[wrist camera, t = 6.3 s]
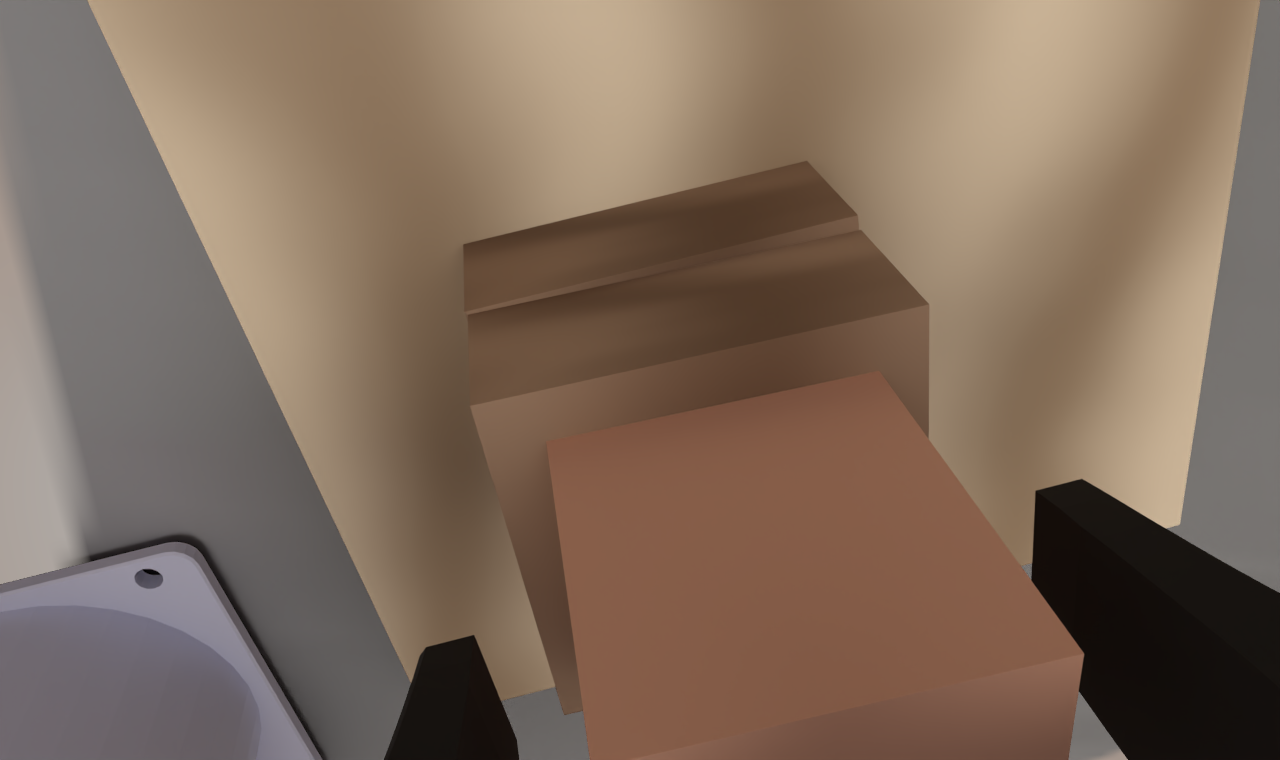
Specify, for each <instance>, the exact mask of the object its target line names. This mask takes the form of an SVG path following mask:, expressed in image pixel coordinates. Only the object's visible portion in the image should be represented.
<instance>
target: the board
mask: <svg viewBox="0 0 1280 760" xmlns="http://www.w3.org/2000/svg"><path fill="white" fill-rule="evenodd" d="M87 1H88V3H89V5H90V7H91V9H92V11H93V13H94V15H95V18H96V20H97V22H98V24H99V26H100V28H101V30H102V32H103V34H104V37H105V39H106V41H107V43H108V45H109V47H110V49H111V51H112V53H113V56H114V58H115V60H116V62H117V64H118V66H119V68H120V70H121V72H122V75H123V77H124V79H125V81H126V83H127V85H128V87H129V89H130V91H131V94H132V96H133V98H134V100H135V102H136V104H137V106H138V108H139V110H140V113H141V115H142V117H143V119H144V121H145V123H146V125H147V127H148V129H149V132H150V134H151V136H152V138H153V140H154V142H155V144H156V146H157V148H158V151H159V153H160V155H161V157H162V159H163V161H164V163H165V165H166V167H167V170H168V172H169V174H170V176H171V178H172V180H173V182H174V184H175V186H176V189H177V191H178V193H179V195H180V197H181V199H182V201H183V203H184V205H185V208H186V210H187V212H188V214H189V216H190V218H191V220H192V222H193V224H194V227H195V229H196V231H197V233H198V235H199V237H200V239H201V241H202V243H203V245H204V248H205V250H206V252H207V254H208V256H209V258H210V260H211V262H212V264H213V267H214V269H215V271H216V273H217V275H218V277H219V279H220V281H221V283H222V286H223V288H224V290H225V292H226V294H227V296H228V298H229V300H230V302H231V305H232V307H233V309H234V311H235V313H236V315H237V317H238V319H239V321H240V324H241V326H242V328H243V330H244V332H245V334H246V336H247V338H248V340H249V343H250V345H251V347H252V349H253V351H254V353H255V355H256V357H257V359H258V362H259V364H260V366H261V368H262V370H263V372H264V374H265V376H266V378H267V381H268V383H269V385H270V387H271V389H272V391H273V393H274V395H275V397H276V400H277V402H278V404H279V406H280V408H281V410H282V412H283V414H284V416H285V419H286V421H287V423H288V425H289V427H290V429H291V431H292V433H293V435H294V438H295V440H296V442H297V444H298V446H299V448H300V450H301V452H302V454H303V457H304V459H305V461H306V463H307V465H308V467H309V469H310V471H311V473H312V476H313V478H314V480H315V482H316V484H317V486H318V488H319V490H320V492H321V495H322V497H323V499H324V501H325V503H326V505H327V507H328V509H329V511H330V514H331V516H332V518H333V520H334V522H335V524H336V526H337V528H338V530H339V533H340V535H341V537H342V539H343V541H344V543H345V545H346V547H347V549H348V552H349V554H350V556H351V558H352V560H353V562H354V564H355V566H356V568H357V571H358V573H359V575H360V577H361V579H362V581H363V583H364V585H365V587H366V590H367V592H368V594H369V596H370V598H371V600H372V602H373V604H374V606H375V609H376V611H377V613H378V615H379V617H380V619H381V621H382V623H383V625H384V628H385V630H386V632H387V634H388V636H389V638H390V640H391V642H392V644H393V647H394V649H395V651H396V653H397V655H398V657H399V659H400V661H401V663H402V666H403V668H404V670H405V672H406V674H407V676H408V678H409V680H410V682H412V679H413V676H414V673H415V670H416V666H417V663H418V660H419V656H420V655H421V653H422V652H423V651H424V649H425V648H426V647H428V646H432V645H436V644H440V643H444V642H448V641H452V640H456V639H460V638H463V637H467V636H471V635H475V638H476V640H477V643H478V645H479V648H480V650H481V653H482V655H483V658H484V660H485V663H486V665H487V668H488V670H489V673H490V675H491V677H492V680H493V682H494V685H495V687H496V690H497V692H498V695H499V697H500V700H501V701H502V700H506V699H510V698H514V697H518V696H522V695H526V694H529V693H533V692H537V691H541V690H545V689H549V688H552V687H555V683H554V680H553V677H552V674H551V670H550V667H549V664H548V660H547V657H546V654H545V651H544V647H543V644H542V641H541V638H540V634H539V631H538V628H537V624H536V621H535V618H534V615H533V611H532V608H531V605H530V601H529V598H528V595H527V592H526V588H525V585H524V582H523V579H522V575H521V572H520V569H519V565H518V562H517V559H516V556H515V552H514V549H513V546H512V542H511V539H510V536H509V533H508V529H507V526H506V523H505V520H504V516H503V513H502V510H501V506H500V503H499V500H498V497H497V493H496V490H495V487H494V483H493V480H492V477H491V474H490V470H489V467H488V464H487V461H486V457H485V454H484V451H483V447H482V444H481V441H480V438H479V434H478V431H477V428H476V424H475V421H474V418H473V415H472V411H471V408H470V388H469V345H468V321H467V318H466V315H465V312H464V257H463V244H466V243H470V242H475V241H479V240H483V239H487V238H491V237H495V236H499V235H503V234H507V233H512V232H516V231H520V230H524V229H528V228H532V227H536V226H540V225H545V224H549V223H553V222H557V221H561V220H565V219H569V218H573V217H577V216H582V215H586V214H590V213H594V212H598V211H602V210H606V209H610V208H615V207H619V206H623V205H627V204H631V203H635V202H639V201H643V200H647V199H652V198H656V197H660V196H664V195H668V194H672V193H676V192H680V191H685V190H689V189H693V188H697V187H701V186H705V185H709V184H713V183H717V182H722V181H726V180H730V179H734V178H738V177H742V176H746V175H750V174H755V173H759V172H763V171H767V170H771V169H775V168H779V167H783V166H787V165H792V164H796V163H800V162H804V161H808V162H809V164H810V165H811V166H812V167H813V168H814V169H815V170H816V171H817V172H818V173H819V174H820V175H821V176H822V177H823V178H824V179H825V181H826V182H827V183H828V184H829V185H830V186H831V187H832V188H833V189H834V190H835V191H836V192H837V193H838V194H839V195H840V197H841V198H842V199H843V200H844V201H845V202H846V203H847V204H848V205H849V206H850V207H851V208H852V209H853V210H854V211H855V213H856V214H857V215H858V222H859V230H862V231H863V232H864V233H865V235H866V236H867V237H868V238H869V239H870V240H871V241H872V242H873V243H874V244H875V246H876V247H877V248H878V249H879V250H880V251H881V252H882V253H883V254H884V255H885V256H886V258H887V259H888V260H889V261H890V262H891V263H892V264H893V265H894V266H895V267H896V268H897V270H898V271H899V272H900V273H901V274H902V275H903V276H904V277H905V278H906V279H907V281H908V282H909V283H910V284H911V285H912V286H913V287H914V288H915V289H916V290H917V291H918V293H919V294H920V295H921V296H922V297H923V298H924V299H925V300H926V301H927V302H928V303H929V440H930V442H931V443H932V444H933V446H934V447H935V448H936V450H937V451H938V453H939V454H940V455H941V457H942V458H943V459H944V461H945V462H946V464H947V465H948V466H949V468H950V469H951V471H952V472H953V473H954V475H955V476H956V477H957V479H958V480H959V482H960V483H961V484H962V486H963V487H964V488H965V490H966V491H967V493H968V494H969V495H970V497H971V498H972V500H973V501H974V502H975V504H976V505H977V506H978V508H979V509H980V511H981V512H982V513H983V515H984V516H985V517H986V519H987V520H988V522H989V523H990V524H991V526H992V527H993V529H994V530H995V531H996V533H997V534H998V535H999V537H1000V538H1001V540H1002V541H1003V542H1004V544H1005V545H1006V546H1007V548H1008V549H1009V551H1010V552H1011V553H1012V555H1013V556H1014V557H1015V559H1016V560H1017V562H1018V563H1019V564H1020V566H1023V565H1026V564H1030V563H1032V557H1033V534H1034V512H1035V491H1036V490H1040V489H1044V488H1048V487H1052V486H1056V485H1060V484H1063V483H1067V482H1071V481H1075V480H1079V479H1083V480H1085V481H1087V482H1089V483H1090V484H1092V485H1094V486H1095V487H1097V488H1099V489H1101V490H1102V491H1104V492H1106V493H1107V494H1109V495H1111V496H1112V497H1114V498H1116V499H1117V500H1119V501H1121V502H1122V503H1124V504H1126V505H1127V506H1129V507H1131V508H1132V509H1134V510H1136V511H1137V512H1139V513H1141V514H1142V515H1144V516H1146V517H1147V518H1149V519H1151V520H1152V521H1154V522H1156V523H1157V524H1159V525H1161V526H1162V527H1164V528H1169V527H1173V526H1177V525H1180V520H1181V513H1182V507H1183V500H1184V494H1185V487H1186V481H1187V474H1188V468H1189V461H1190V454H1191V448H1192V441H1193V435H1194V428H1195V422H1196V415H1197V409H1198V402H1199V396H1200V389H1201V383H1202V376H1203V370H1204V363H1205V357H1206V350H1207V344H1208V337H1209V331H1210V324H1211V317H1212V311H1213V304H1214V298H1215V291H1216V285H1217V278H1218V272H1219V265H1220V259H1221V252H1222V246H1223V239H1224V233H1225V226H1226V220H1227V213H1228V207H1229V200H1230V193H1231V187H1232V180H1233V174H1234V167H1235V161H1236V154H1237V148H1238V141H1239V135H1240V128H1241V122H1242V115H1243V109H1244V102H1245V96H1246V89H1247V83H1248V76H1249V69H1250V63H1251V56H1252V50H1253V43H1254V37H1255V30H1256V24H1257V17H1258V11H1259V4H1260V0H87Z"/></svg>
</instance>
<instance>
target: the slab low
mask: <svg viewBox="0 0 1280 760" xmlns="http://www.w3.org/2000/svg"><path fill="white" fill-rule="evenodd" d="M858 230H859V222H858V215H857V214H856V213H855V211H854V210H853V209H852V208H851V207H850V206H849V205H848V204H847V203H846V202H845V201H844V200H843V199H842V198H841V197H840V195H839V194H838V193H837V192H836V191H835V190H834V189H833V188H832V187H831V186H830V185H829V184H828V183H827V182H826V181H825V179H824V178H823V177H822V176H821V175H820V174H819V173H818V172H817V171H816V170H815V169H814V168H813V167H812V166H811V165H810V164H809V162H808V161H804V162H800V163H796V164H792V165H787V166H783V167H779V168H775V169H771V170H767V171H763V172H759V173H755V174H750V175H746V176H742V177H738V178H734V179H730V180H726V181H722V182H717V183H713V184H709V185H705V186H701V187H697V188H693V189H689V190H685V191H680V192H676V193H672V194H668V195H664V196H660V197H656V198H652V199H647V200H643V201H639V202H635V203H631V204H627V205H623V206H619V207H615V208H610V209H606V210H602V211H598V212H594V213H590V214H586V215H582V216H577V217H573V218H569V219H565V220H561V221H557V222H553V223H549V224H545V225H540V226H536V227H532V228H528V229H524V230H520V231H516V232H512V233H507V234H503V235H499V236H495V237H491V238H487V239H483V240H479V241H475V242H470V243H466V244H463V257H464V312H465V315H466V318H467V321H468V315H469V314H474V313H478V312H483V311H487V310H492V309H497V308H501V307H506V306H511V305H515V304H520V303H524V302H529V301H534V300H538V299H543V298H548V297H552V296H557V295H561V294H566V293H571V292H575V291H580V290H585V289H589V288H594V287H599V286H603V285H608V284H612V283H617V282H622V281H626V280H631V279H636V278H640V277H645V276H649V275H654V274H659V273H663V272H668V271H673V270H677V269H682V268H686V267H691V266H696V265H700V264H705V263H710V262H714V261H719V260H723V259H728V258H733V257H737V256H742V255H747V254H751V253H756V252H760V251H765V250H770V249H774V248H779V247H784V246H788V245H793V244H797V243H802V242H807V241H811V240H816V239H821V238H825V237H830V236H835V235H839V234H844V233H848V232H853V231H858Z"/></svg>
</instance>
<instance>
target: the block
mask: <svg viewBox="0 0 1280 760" xmlns="http://www.w3.org/2000/svg"><path fill="white" fill-rule="evenodd" d="M546 445H547V452H548V459H549V466H550V474H551V481H552V488H553V495H554V503H555V510H556V517H557V524H558V531H559V539H560V546H561V553H562V560H563V568H564V575H565V582H566V589H567V597H568V604H569V611H570V618H571V626H572V633H573V640H574V647H575V655H576V662H577V669H578V676H579V684H580V691H581V698H582V705H583V713H584V720H585V727H586V734H587V742H588V749H589V756H590V760H1068V758H1069V751H1070V745H1071V738H1072V731H1073V725H1074V718H1075V711H1076V705H1077V698H1078V691H1079V685H1080V678H1081V671H1082V665H1083V658H1084V653H1083V651H1082V650H1081V649H1080V647H1079V646H1078V644H1077V643H1076V642H1075V640H1074V639H1073V638H1072V636H1071V635H1070V633H1069V632H1068V631H1067V629H1066V628H1065V627H1064V625H1063V624H1062V622H1061V621H1060V620H1059V618H1058V617H1057V615H1056V614H1055V613H1054V611H1053V610H1052V609H1051V607H1050V606H1049V604H1048V603H1047V602H1046V600H1045V599H1044V598H1043V596H1042V595H1041V593H1040V592H1039V591H1038V589H1037V588H1036V586H1035V585H1034V584H1033V582H1032V581H1031V580H1030V578H1029V577H1028V575H1027V574H1026V573H1025V571H1024V570H1023V569H1022V567H1021V566H1020V564H1019V563H1018V562H1017V560H1016V559H1015V557H1014V556H1013V555H1012V553H1011V552H1010V551H1009V549H1008V548H1007V546H1006V545H1005V544H1004V542H1003V541H1002V540H1001V538H1000V537H999V535H998V534H997V533H996V531H995V530H994V529H993V527H992V526H991V524H990V523H989V522H988V520H987V519H986V517H985V516H984V515H983V513H982V512H981V511H980V509H979V508H978V506H977V505H976V504H975V502H974V501H973V500H972V498H971V497H970V495H969V494H968V493H967V491H966V490H965V488H964V487H963V486H962V484H961V483H960V482H959V480H958V479H957V477H956V476H955V475H954V473H953V472H952V471H951V469H950V468H949V466H948V465H947V464H946V462H945V461H944V459H943V458H942V457H941V455H940V454H939V453H938V451H937V450H936V448H935V447H934V446H933V444H932V443H931V442H930V440H929V439H928V437H927V436H926V435H925V433H924V432H923V431H922V429H921V428H920V426H919V425H918V424H917V422H916V421H915V419H914V418H913V417H912V415H911V414H910V413H909V411H908V410H907V408H906V407H905V406H904V404H903V403H902V402H901V400H900V399H899V397H898V396H897V395H896V393H895V392H894V390H893V389H892V388H891V386H890V385H889V384H888V382H887V381H886V379H885V378H884V377H883V375H882V374H881V373H880V371H875V372H871V373H866V374H861V375H857V376H852V377H847V378H842V379H838V380H833V381H828V382H824V383H819V384H814V385H810V386H805V387H800V388H795V389H791V390H786V391H781V392H777V393H772V394H767V395H762V396H758V397H753V398H748V399H744V400H739V401H734V402H730V403H725V404H720V405H715V406H711V407H706V408H701V409H697V410H692V411H687V412H682V413H678V414H673V415H668V416H664V417H659V418H654V419H650V420H645V421H640V422H635V423H631V424H626V425H621V426H617V427H612V428H607V429H602V430H598V431H593V432H588V433H584V434H579V435H574V436H570V437H565V438H560V439H555V440H551V441H546Z"/></svg>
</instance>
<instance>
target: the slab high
mask: <svg viewBox="0 0 1280 760" xmlns="http://www.w3.org/2000/svg"><path fill="white" fill-rule="evenodd" d="M468 345H469V388H470V408H471V411H472V415H473V418H474V421H475V424H476V428H477V431H478V434H479V438H480V441H481V444H482V447H483V451H484V454H485V457H486V461H487V464H488V467H489V470H490V474H491V477H492V480H493V483H494V487H495V490H496V493H497V497H498V500H499V503H500V506H501V510H502V513H503V516H504V520H505V523H506V526H507V529H508V533H509V536H510V539H511V542H512V546H513V549H514V552H515V556H516V559H517V562H518V565H519V569H520V572H521V575H522V579H523V582H524V585H525V588H526V592H527V595H528V598H529V601H530V605H531V608H532V611H533V615H534V618H535V621H536V624H537V628H538V631H539V634H540V638H541V641H542V644H543V647H544V651H545V654H546V657H547V660H548V664H549V667H550V670H551V674H552V677H553V680H554V683H555V687H556V690H557V693H558V697H559V700H560V703H561V706H562V710H563V713H564V715H567V714H571V713H575V712H580V711H583V705H582V698H581V691H580V684H579V676H578V669H577V662H576V655H575V647H574V640H573V633H572V626H571V618H570V611H569V604H568V597H567V589H566V582H565V575H564V568H563V560H562V553H561V546H560V539H559V531H558V524H557V517H556V510H555V503H554V495H553V488H552V481H551V474H550V466H549V459H548V452H547V445H546V441H551V440H555V439H560V438H565V437H570V436H574V435H579V434H584V433H588V432H593V431H598V430H602V429H607V428H612V427H617V426H621V425H626V424H631V423H635V422H640V421H645V420H650V419H654V418H659V417H664V416H668V415H673V414H678V413H682V412H687V411H692V410H697V409H701V408H706V407H711V406H715V405H720V404H725V403H730V402H734V401H739V400H744V399H748V398H753V397H758V396H762V395H767V394H772V393H777V392H781V391H786V390H791V389H795V388H800V387H805V386H810V385H814V384H819V383H824V382H828V381H833V380H838V379H842V378H847V377H852V376H857V375H861V374H866V373H871V372H875V371H880V373H881V374H882V375H883V377H884V378H885V379H886V381H887V382H888V384H889V385H890V386H891V388H892V389H893V390H894V392H895V393H896V395H897V396H898V397H899V399H900V400H901V402H902V403H903V404H904V406H905V407H906V408H907V410H908V411H909V413H910V414H911V415H912V417H913V418H914V419H915V421H916V422H917V424H918V425H919V426H920V428H921V429H922V431H923V432H924V433H925V435H926V436H927V437H928V439H929V303H928V302H927V301H926V300H925V299H924V298H923V297H922V296H921V295H920V294H919V293H918V291H917V290H916V289H915V288H914V287H913V286H912V285H911V284H910V283H909V282H908V281H907V279H906V278H905V277H904V276H903V275H902V274H901V273H900V272H899V271H898V270H897V268H896V267H895V266H894V265H893V264H892V263H891V262H890V261H889V260H888V259H887V258H886V256H885V255H884V254H883V253H882V252H881V251H880V250H879V249H878V248H877V247H876V246H875V244H874V243H873V242H872V241H871V240H870V239H869V238H868V237H867V236H866V235H865V233H864V232H863V231H862V230H858V231H853V232H848V233H844V234H839V235H835V236H830V237H825V238H821V239H816V240H811V241H807V242H802V243H797V244H793V245H788V246H784V247H779V248H774V249H770V250H765V251H760V252H756V253H751V254H747V255H742V256H737V257H733V258H728V259H723V260H719V261H714V262H710V263H705V264H700V265H696V266H691V267H686V268H682V269H677V270H673V271H668V272H663V273H659V274H654V275H649V276H645V277H640V278H636V279H631V280H626V281H622V282H617V283H612V284H608V285H603V286H599V287H594V288H589V289H585V290H580V291H575V292H571V293H566V294H561V295H557V296H552V297H548V298H543V299H538V300H534V301H529V302H524V303H520V304H515V305H511V306H506V307H501V308H497V309H492V310H487V311H483V312H478V313H474V314H469V315H468Z"/></svg>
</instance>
